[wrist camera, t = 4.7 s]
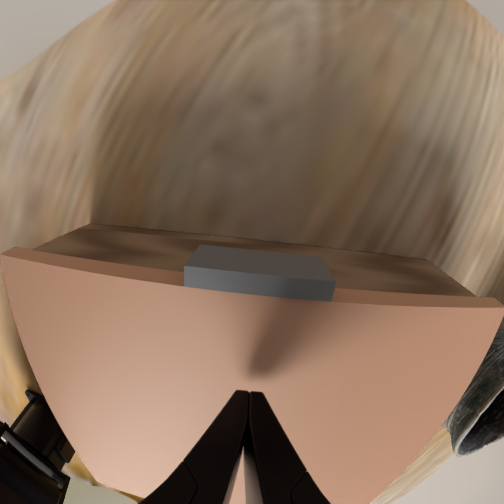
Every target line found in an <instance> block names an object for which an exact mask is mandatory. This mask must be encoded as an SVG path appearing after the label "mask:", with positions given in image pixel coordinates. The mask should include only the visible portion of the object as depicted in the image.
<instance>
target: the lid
mask: <svg viewBox="0 0 504 504" xmlns="http://www.w3.org/2000/svg"><path fill="white" fill-rule="evenodd" d="M0 260H1V266H2V271H3V276H4V281H5V285H6V290H7V294H8V298H9V302H10V306H11V309H12V313H13V317H14V320H15V323H16V326H17V330H18V333H19V336H20V339H21V342H22V344H23V347H24V350H25V353H26V355H27V358H28V360H29V363H30V365H31V368H32V370H33V373H34V375H35V377H36V380H37V382H38V384H39V386H40V388H41V391H42V393H43V395H44V397H45V399H46V401H47V403H48V405H49V407H50V409H51V411H52V413H53V414H54V416H55V418H56V420H57V422H58V423H59V425H60V427H61V429H62V430H63V432H64V434H65V435H66V437H67V439H68V440H69V442H70V444H71V445H72V447H73V448H74V450H75V451H76V453H77V454H78V456H79V457H80V459H81V460H82V462H83V463H84V465H85V466H86V467H87V469H88V470H89V471H90V473H91V474H92V475H93V477H94V478H95V479H96V481H97V482H99V483H102V484H104V485H107V486H109V487H112V488H115V489H118V490H121V491H124V492H127V493H130V494H133V495H136V496H139V497H143V498H146V497H147V496H148V495H149V494H151V493H152V492H153V491H154V490H155V489H156V488H157V487H158V486H160V485H161V484H162V483H163V482H164V481H165V480H166V479H167V478H168V477H169V476H170V474H171V473H172V472H173V471H174V470H175V469H176V468H177V466H178V465H179V464H180V463H181V462H182V461H183V459H184V458H185V457H186V455H187V454H188V453H189V452H190V450H191V449H192V448H193V447H194V445H195V444H196V443H197V441H198V440H199V439H200V438H201V436H202V435H203V434H204V432H205V431H206V430H207V428H208V427H209V426H210V425H211V423H212V422H213V421H214V419H215V418H216V416H217V415H218V414H219V412H220V411H221V410H222V408H223V407H224V406H225V404H226V403H227V401H228V400H229V399H230V397H231V396H232V395H233V393H234V392H235V391H236V390H247V391H249V393H250V391H258V392H263V393H264V395H265V397H266V399H267V401H268V402H269V404H270V406H271V408H272V410H273V412H274V413H275V415H276V417H277V419H278V421H279V422H280V424H281V426H282V428H283V429H284V431H285V433H286V435H287V436H288V438H289V440H290V442H291V443H292V445H293V447H294V449H295V450H296V452H297V454H298V455H299V457H300V459H301V460H302V462H303V464H304V465H305V467H306V469H307V471H308V472H309V473H310V475H311V477H312V478H313V480H314V482H315V483H316V485H317V486H318V487H319V489H320V490H321V492H322V493H323V494H324V496H325V497H326V498H327V499H328V501H329V502H330V503H331V504H369V503H370V502H371V501H372V500H374V499H375V498H376V497H377V496H378V495H379V494H380V493H381V492H382V491H383V490H385V489H386V488H387V487H388V486H389V485H390V484H391V483H392V482H393V481H394V480H395V479H396V478H397V477H398V476H399V475H400V474H401V473H402V472H403V471H404V470H405V469H406V468H407V467H408V465H409V464H410V463H411V462H412V461H413V460H414V459H415V458H416V457H417V455H418V454H419V453H420V452H421V451H422V450H423V449H424V447H425V446H426V445H427V444H428V443H429V441H430V440H431V439H432V438H433V436H434V435H435V434H436V432H437V431H438V430H439V429H440V427H441V426H442V425H443V423H444V422H445V420H446V419H447V418H448V416H449V415H450V413H451V412H452V411H453V409H454V408H455V406H456V405H457V403H458V402H459V400H460V399H461V397H462V396H463V394H464V392H465V391H466V389H467V388H468V386H469V384H470V383H471V381H472V379H473V378H474V376H475V374H476V372H477V370H478V369H479V367H480V365H481V363H482V361H483V359H484V357H485V356H486V354H487V352H488V350H489V348H490V346H491V343H492V341H493V339H494V337H495V335H496V333H497V331H498V328H499V326H500V324H501V321H502V319H503V316H504V305H503V304H502V303H500V302H499V301H498V300H497V299H495V298H494V297H468V296H447V295H428V294H411V293H396V292H381V291H368V290H355V289H342V288H335V285H336V280H335V279H334V277H333V275H332V274H331V272H330V270H329V268H328V267H327V265H326V263H325V262H324V260H323V258H322V257H314V256H305V255H296V254H286V253H277V252H268V251H258V250H249V249H239V248H230V247H220V246H211V245H201V244H200V245H199V246H198V248H197V249H196V250H195V252H194V253H193V254H192V256H191V257H190V258H189V260H188V261H187V263H186V264H185V265H184V272H178V271H170V270H163V269H155V268H147V267H140V266H133V265H125V264H118V263H111V262H104V261H98V260H91V259H84V258H78V257H72V256H65V255H59V254H53V253H47V252H41V251H35V250H29V249H23V248H18V247H14V248H12V249H10V250H8V251H5V252H3V253H1V254H0ZM307 471H306V472H307ZM229 504H246V496H245V480H244V463H243V452H242V457H241V461H240V465H239V469H238V473H237V477H236V480H235V484H234V488H233V492H232V495H231V499H230V503H229Z"/></svg>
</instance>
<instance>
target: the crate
mask: <svg viewBox="0 0 504 504" xmlns="http://www.w3.org/2000/svg"><path fill="white" fill-rule="evenodd" d="M200 244H201V245H211V246H220V247H230V248H239V249H249V250H258V251H268V252H277V253H286V254H296V255H305V256H314V257H322V258H323V260H324V262H325V263H326V265H327V267H328V268H329V270H330V272H331V274H332V275H333V277H334V279H335V280H336V285H335V288H342V289H355V290H368V291H381V292H396V293H411V294H428V295H447V296H468V297H477V296H475V295H474V294H473V293H471V292H470V291H469V290H467V289H466V288H465V287H463V286H462V285H461V284H459V283H458V282H457V281H455V280H454V279H453V278H451V277H450V276H449V275H447V274H446V273H444V272H443V271H442V270H440V269H439V268H437V267H436V266H435V265H433V264H432V263H430V262H429V261H427V260H424V259H416V258H408V257H400V256H392V255H384V254H376V253H367V252H359V251H351V250H342V249H333V248H325V247H316V246H307V245H298V244H289V243H280V242H271V241H261V240H252V239H242V238H233V237H223V236H213V235H203V234H193V233H183V232H173V231H162V230H152V229H141V228H130V227H119V226H108V225H96V224H88V225H85V226H83V227H81V228H78V229H76V230H74V231H72V232H69V233H67V234H65V235H63V236H60V237H58V238H56V239H54V240H52V241H50V242H47V243H45V244H43V245H41V246H39V247H37V248H35V249H33V250H35V251H41V252H47V253H53V254H59V255H65V256H72V257H78V258H84V259H91V260H98V261H104V262H111V263H118V264H125V265H133V266H140V267H147V268H155V269H163V270H170V271H178V272H184V265H185V264H186V263H187V261H188V260H189V258H190V257H191V256H192V254H193V253H194V252H195V250H196V249H197V248H198V246H199V245H200Z"/></svg>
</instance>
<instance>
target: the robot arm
mask: <svg viewBox="0 0 504 504" xmlns="http://www.w3.org/2000/svg"><path fill="white" fill-rule="evenodd" d="M25 394H26V396H27V398H28V399H29V401H30V402H29V403H28V404H27V406H26V407H25V408H24V410H23V411H22V412H21V414H20V415H19V416H18V418H17V419H16V420H15V422H14V423H13V424H12V426H11V427H9V425H8V424H7V423H6V422H4V423H2V422H1V421H0V504H63V502H64V498H65V494H66V491H67V488H68V485H69V481H70V477H69V476H67V475H65V474H64V473H62V472H61V470H62V468H63V466H64V464H65V462H66V463H69V462H70V460H71V459H72V457H73V455H74V453H75V450H74V448H73V447H72V445H71V444H70V442H69V440H68V439H67V437H66V435H65V434H64V432H63V430H62V429H61V427H60V425H59V423H58V422H57V420H56V418H55V416H54V414H53V413H52V411H51V409H50V407H49V405H48V403H47V401H46V399H45V398H44V397H42V396H40V395H38V394H36V393H34V392H32V391H30V390H28V389H27V390H26V391H25ZM1 436H2V437H3V438H4V439H5V440H6V442H4V441H3V440H2V439H1ZM242 452H243V463H244V480H245V496H246V504H331V503H330V502H329V501H328V499H327V498H326V497H325V496H324V494H323V493H322V492H321V490H320V489H319V487H318V486H317V485H316V483H315V482H314V480H313V478H312V477H311V475H310V473H309V472H308V471H307V469H306V467H305V465H304V464H303V462H302V460H301V459H300V457H299V455H298V454H297V452H296V450H295V449H294V447H293V445H292V443H291V442H290V440H289V438H288V436H287V435H286V433H285V431H284V429H283V428H282V426H281V424H280V422H279V421H278V419H277V417H276V415H275V413H274V412H273V410H272V408H271V406H270V404H269V402H268V401H267V399H266V397H265V395H264V393H263V392H258V391H250V393H249V391H247V390H236V391H235V392H234V393H233V395H232V396H231V397H230V399H229V400H228V401H227V403H226V404H225V406H224V407H223V408H222V410H221V411H220V412H219V414H218V415H217V416H216V418H215V419H214V421H213V422H212V423H211V425H210V426H209V427H208V428H207V430H206V431H205V432H204V434H203V435H202V436H201V438H200V439H199V440H198V441H197V443H196V444H195V445H194V447H193V448H192V449H191V450H190V452H189V453H188V454H187V455H186V457H185V458H184V459H183V461H182V462H181V463H180V464H179V465H178V466H177V468H176V469H175V470H174V471H173V472H172V473H171V474H170V476H169V477H168V478H167V479H166V480H165V481H164V482H163V483H162V484H161V485H160V486H158V487H157V488H156V489H155V490H154V491H153V492H152V493H151V494H149V495H148V496H147V497H146V498H144V499H143V500H142V501H141V502H140V503H138V504H229V503H230V499H231V495H232V492H233V488H234V484H235V480H236V477H237V473H238V469H239V465H240V461H241V457H242ZM306 471H307V472H306Z"/></svg>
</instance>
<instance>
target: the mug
mask: <svg viewBox="0 0 504 504" xmlns="http://www.w3.org/2000/svg"><path fill="white" fill-rule="evenodd" d="M442 426H443V427H444V428H445V429H446V430H447V431H448V432H449V433H450V435H451V441H452V447H453V452H454V454H455V455H457V456H459V457H462V456H465V455H469V454H472V453H474V452H476V451H478V450H480V449H481V448H482V447H484V446H485V445H489V444H491V443H494V442H496V441H498V440H500V439H502V438H504V330H498V331H497V333H496V335H495V337H494V339H493V341H492V343H491V346H490V348H489V350H488V352H487V354H486V356H485V357H484V359H483V361H482V363H481V365H480V367H479V369H478V370H477V372H476V374H475V376H474V378H473V379H472V381H471V383H470V384H469V386H468V388H467V389H466V391H465V392H464V394H463V396H462V397H461V399H460V400H459V402H458V403H457V405H456V406H455V408H454V409H453V411H452V412H451V413H450V415H449V416H448V418H447V419H446V420H445V422H444V423H443V425H442Z"/></svg>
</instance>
